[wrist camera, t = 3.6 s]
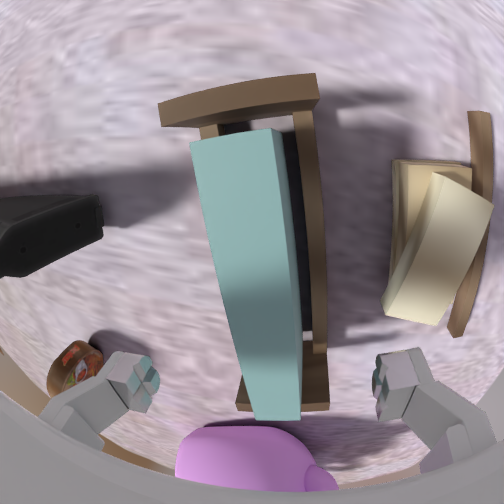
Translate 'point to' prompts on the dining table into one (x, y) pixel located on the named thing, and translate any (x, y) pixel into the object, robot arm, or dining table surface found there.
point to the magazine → (45, 230)
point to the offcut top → (437, 252)
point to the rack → (319, 196)
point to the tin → (73, 367)
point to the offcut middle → (421, 193)
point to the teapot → (250, 460)
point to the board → (255, 262)
